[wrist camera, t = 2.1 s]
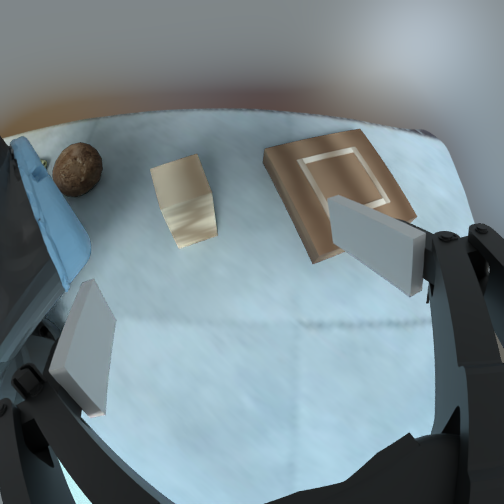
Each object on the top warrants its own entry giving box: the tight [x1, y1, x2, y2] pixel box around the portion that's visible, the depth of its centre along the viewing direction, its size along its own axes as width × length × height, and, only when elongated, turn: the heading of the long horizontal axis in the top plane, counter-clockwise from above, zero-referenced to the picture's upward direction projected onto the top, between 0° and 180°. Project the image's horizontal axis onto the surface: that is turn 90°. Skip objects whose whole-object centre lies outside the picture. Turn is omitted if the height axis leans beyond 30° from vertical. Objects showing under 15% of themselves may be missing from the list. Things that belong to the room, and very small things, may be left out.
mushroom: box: [53, 142, 103, 197], centre depth 36 cm, size 8×8×6 cm
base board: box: [263, 129, 417, 264], centre depth 38 cm, size 16×16×3 cm
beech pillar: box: [150, 154, 218, 249], centre depth 32 cm, size 5×5×10 cm
